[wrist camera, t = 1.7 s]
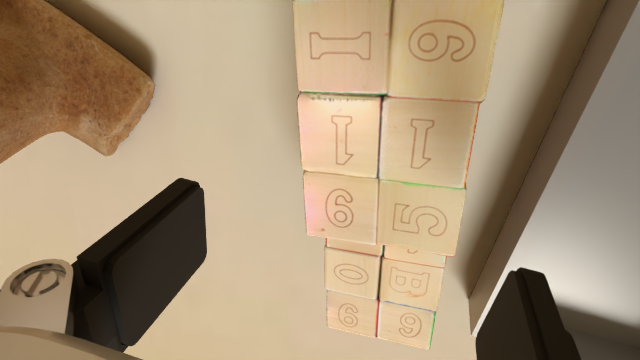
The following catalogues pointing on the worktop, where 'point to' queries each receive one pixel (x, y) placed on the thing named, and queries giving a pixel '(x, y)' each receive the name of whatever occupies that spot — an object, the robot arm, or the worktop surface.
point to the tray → (584, 200)
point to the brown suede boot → (63, 81)
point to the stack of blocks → (389, 149)
